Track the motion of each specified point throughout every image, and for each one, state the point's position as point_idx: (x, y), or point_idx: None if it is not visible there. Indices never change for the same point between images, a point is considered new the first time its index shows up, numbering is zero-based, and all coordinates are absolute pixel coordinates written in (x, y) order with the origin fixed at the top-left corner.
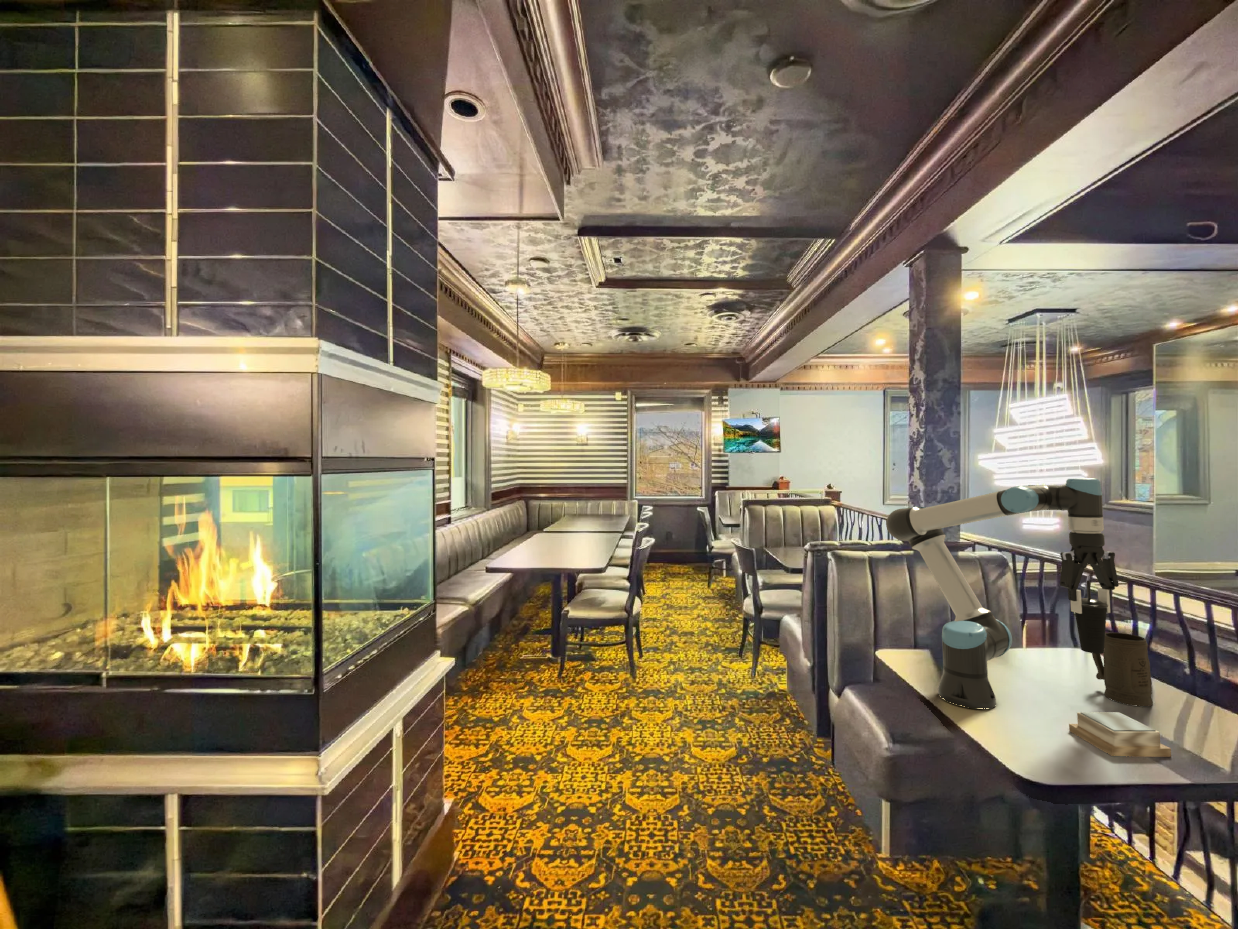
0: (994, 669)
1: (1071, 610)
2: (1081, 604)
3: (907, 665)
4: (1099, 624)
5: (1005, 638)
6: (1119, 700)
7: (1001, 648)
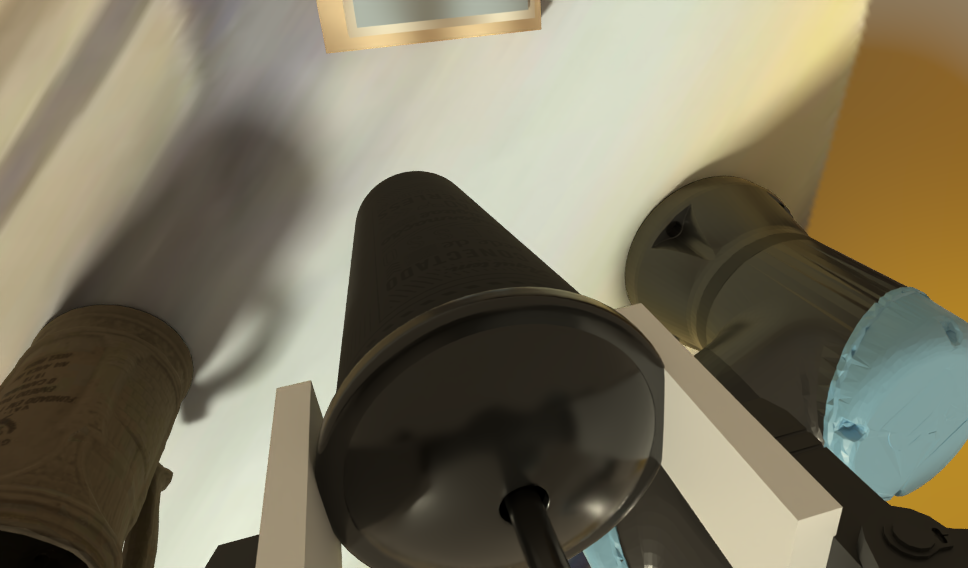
0: None
1: None
2: (665, 369)
3: None
4: (452, 232)
5: None
6: (169, 331)
7: None
